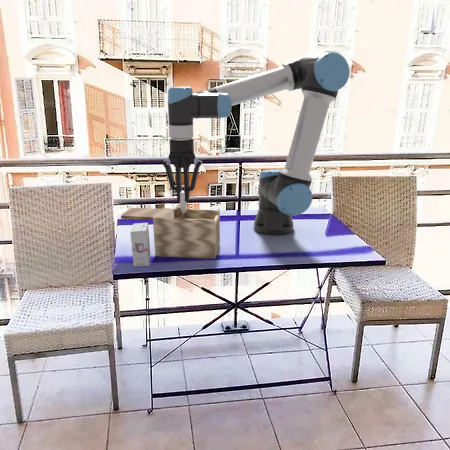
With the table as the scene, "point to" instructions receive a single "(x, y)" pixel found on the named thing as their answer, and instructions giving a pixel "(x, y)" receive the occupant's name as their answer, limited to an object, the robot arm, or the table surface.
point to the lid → (152, 213)
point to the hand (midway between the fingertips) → (183, 210)
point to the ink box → (140, 244)
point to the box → (188, 234)
